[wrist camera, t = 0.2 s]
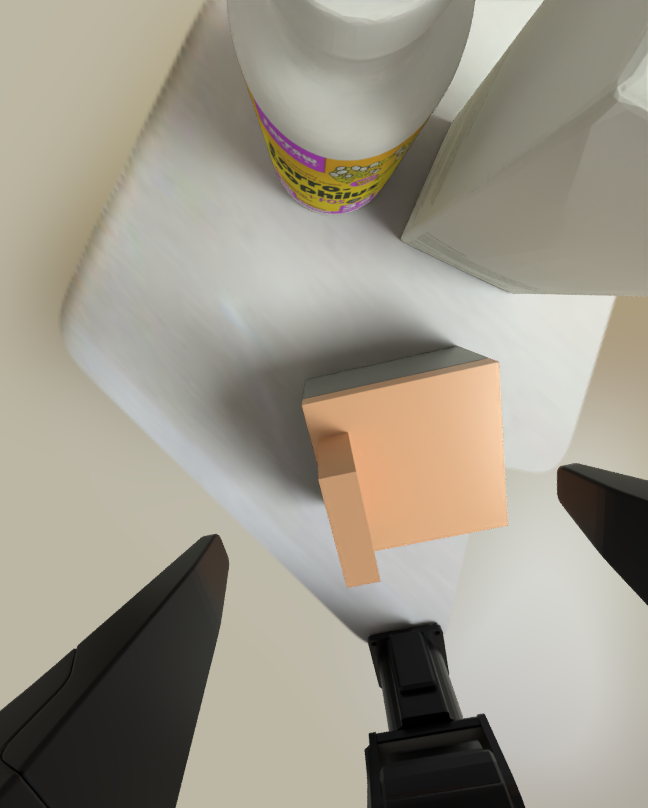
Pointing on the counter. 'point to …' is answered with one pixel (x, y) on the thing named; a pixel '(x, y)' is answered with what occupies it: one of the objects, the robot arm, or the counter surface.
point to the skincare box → (550, 160)
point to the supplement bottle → (345, 86)
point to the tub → (389, 371)
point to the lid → (409, 461)
